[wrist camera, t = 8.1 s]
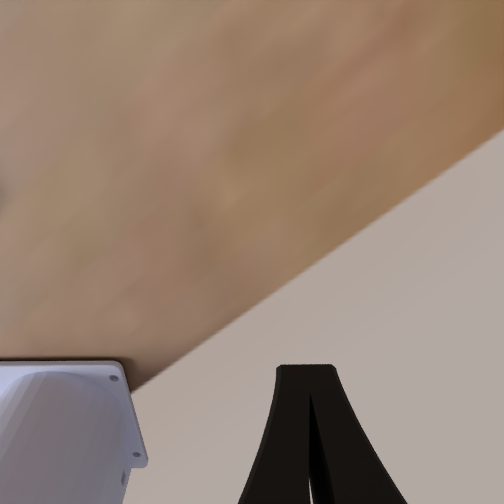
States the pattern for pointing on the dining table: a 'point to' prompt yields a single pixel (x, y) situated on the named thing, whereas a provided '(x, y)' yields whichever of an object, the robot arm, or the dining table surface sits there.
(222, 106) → the dining table surface
